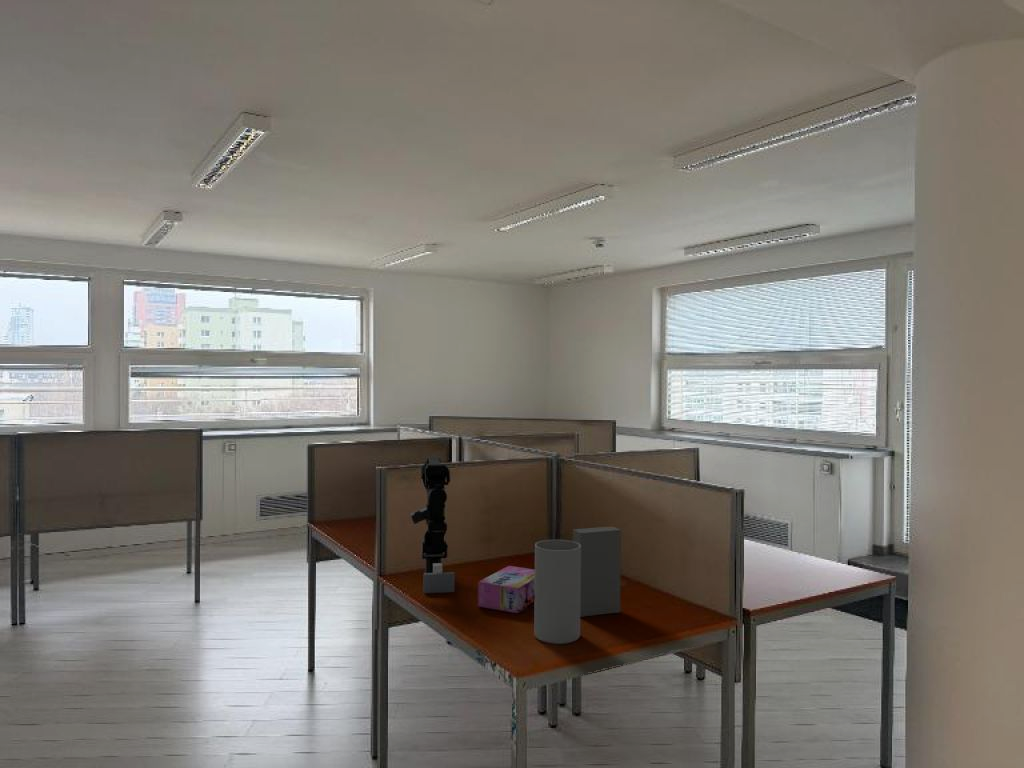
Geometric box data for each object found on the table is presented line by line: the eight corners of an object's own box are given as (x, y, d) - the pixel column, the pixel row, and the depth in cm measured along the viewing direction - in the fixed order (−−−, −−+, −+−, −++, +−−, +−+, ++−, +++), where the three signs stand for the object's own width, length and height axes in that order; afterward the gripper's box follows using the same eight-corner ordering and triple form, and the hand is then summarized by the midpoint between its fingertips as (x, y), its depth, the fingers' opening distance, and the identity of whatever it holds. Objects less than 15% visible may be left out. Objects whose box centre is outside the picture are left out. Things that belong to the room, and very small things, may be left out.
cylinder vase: (577, 628, 201) (577, 539, 201) (582, 645, 188) (583, 550, 188) (532, 628, 200) (533, 539, 200) (535, 645, 188) (536, 550, 188)
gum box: (510, 563, 239) (547, 569, 234) (509, 587, 239) (547, 593, 234) (477, 581, 217) (518, 587, 212) (477, 607, 217) (518, 614, 212)
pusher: (422, 584, 242) (422, 563, 242) (451, 583, 244) (452, 562, 244) (423, 593, 232) (423, 571, 232) (454, 591, 234) (454, 570, 234)
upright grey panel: (610, 606, 220) (611, 525, 220) (620, 612, 214) (621, 529, 214) (570, 611, 215) (571, 528, 215) (579, 618, 209) (580, 533, 209)
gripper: (411, 496, 248) (411, 541, 249) (412, 506, 230) (412, 554, 230) (443, 495, 250) (443, 540, 250) (447, 505, 232) (447, 553, 232)
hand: (435, 546), depth 241 cm, fingers open, 9 cm apart
